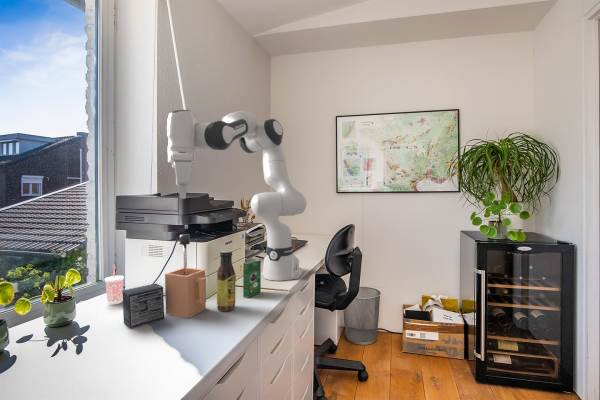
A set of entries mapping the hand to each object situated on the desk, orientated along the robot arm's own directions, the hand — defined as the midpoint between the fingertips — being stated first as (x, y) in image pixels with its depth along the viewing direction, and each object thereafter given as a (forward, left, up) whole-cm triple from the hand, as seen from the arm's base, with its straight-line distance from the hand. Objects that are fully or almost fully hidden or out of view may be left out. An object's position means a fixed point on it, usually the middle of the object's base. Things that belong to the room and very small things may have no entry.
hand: (182, 198), depth 113 cm
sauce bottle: (-5, +13, -38) cm, 41 cm away
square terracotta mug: (+2, +4, -38) cm, 38 cm away
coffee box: (-21, +14, -38) cm, 46 cm away
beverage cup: (+5, -28, -38) cm, 47 cm away
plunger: (+2, +2, -29) cm, 29 cm away
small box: (+13, -5, -38) cm, 41 cm away
